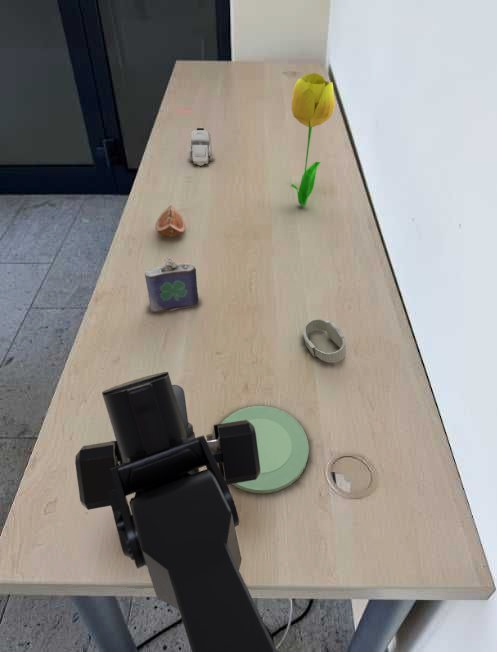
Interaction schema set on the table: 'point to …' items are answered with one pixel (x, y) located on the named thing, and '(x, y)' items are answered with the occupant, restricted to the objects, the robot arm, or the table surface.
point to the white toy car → (200, 146)
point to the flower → (311, 119)
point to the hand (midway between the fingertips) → (171, 444)
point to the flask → (172, 286)
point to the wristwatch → (333, 333)
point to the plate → (274, 448)
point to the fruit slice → (170, 223)
